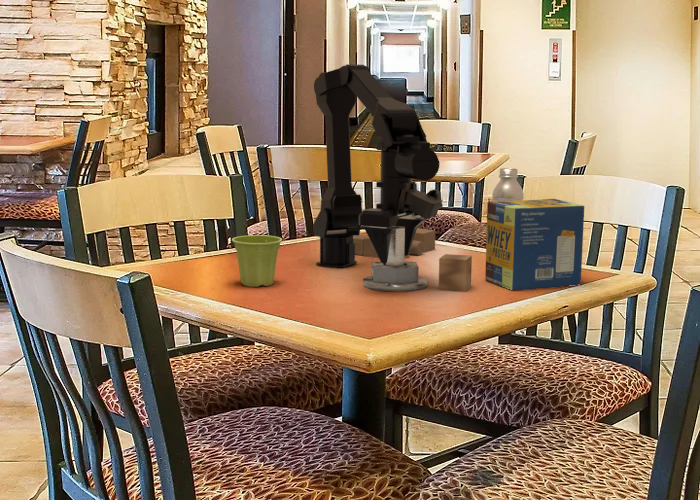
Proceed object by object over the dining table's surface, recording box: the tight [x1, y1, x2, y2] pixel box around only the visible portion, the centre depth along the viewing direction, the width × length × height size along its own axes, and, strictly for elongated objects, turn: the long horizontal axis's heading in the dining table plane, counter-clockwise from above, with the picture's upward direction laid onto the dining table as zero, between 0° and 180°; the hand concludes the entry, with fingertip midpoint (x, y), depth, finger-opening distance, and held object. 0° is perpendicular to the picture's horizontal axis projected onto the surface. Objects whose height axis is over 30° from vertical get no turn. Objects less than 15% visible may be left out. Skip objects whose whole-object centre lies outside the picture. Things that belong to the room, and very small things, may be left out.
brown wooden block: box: [438, 253, 473, 293], centre depth 185 cm, size 5×5×6 cm
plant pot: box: [231, 234, 283, 288], centre depth 187 cm, size 9×9×9 cm
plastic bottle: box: [491, 167, 525, 202], centre depth 210 cm, size 6×7×20 cm
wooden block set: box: [353, 227, 436, 260], centre depth 225 cm, size 17×6×18 cm
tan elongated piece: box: [386, 226, 405, 267], centre depth 187 cm, size 4×3×10 cm
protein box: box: [484, 198, 585, 291], centre depth 189 cm, size 10×15×16 cm
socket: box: [362, 260, 428, 293], centre depth 187 cm, size 12×12×4 cm
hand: (395, 259), depth 187 cm, fingers open, 9 cm apart
